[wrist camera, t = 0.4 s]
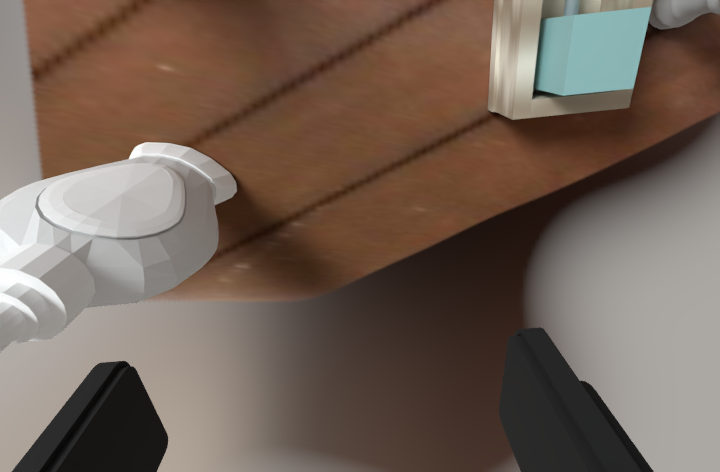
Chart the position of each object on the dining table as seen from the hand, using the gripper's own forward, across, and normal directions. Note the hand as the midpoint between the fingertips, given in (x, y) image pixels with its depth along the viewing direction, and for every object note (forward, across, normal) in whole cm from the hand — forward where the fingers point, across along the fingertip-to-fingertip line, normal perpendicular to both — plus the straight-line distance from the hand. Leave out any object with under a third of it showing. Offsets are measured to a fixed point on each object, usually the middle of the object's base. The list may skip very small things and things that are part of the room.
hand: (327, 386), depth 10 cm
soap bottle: (+30, +16, +3) cm, 34 cm away
